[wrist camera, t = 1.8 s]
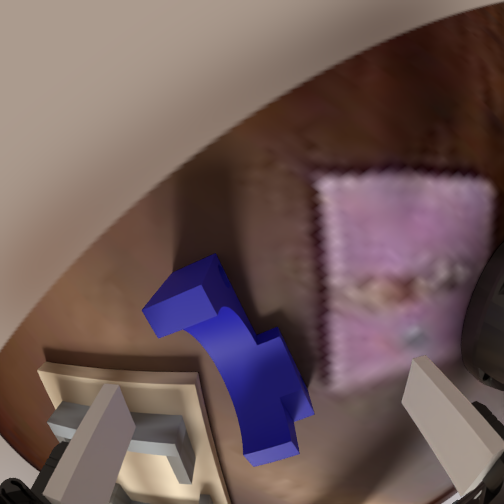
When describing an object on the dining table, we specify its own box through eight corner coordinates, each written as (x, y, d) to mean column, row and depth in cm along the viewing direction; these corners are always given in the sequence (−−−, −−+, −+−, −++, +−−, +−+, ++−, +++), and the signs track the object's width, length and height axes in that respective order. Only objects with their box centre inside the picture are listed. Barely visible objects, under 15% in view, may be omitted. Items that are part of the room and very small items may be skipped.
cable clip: (307, 388, 20) (323, 445, 14) (251, 407, 20) (253, 466, 14) (238, 242, 18) (234, 270, 12) (173, 272, 18) (141, 310, 12)
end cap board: (197, 372, 19) (187, 414, 15) (234, 514, 24) (234, 542, 20) (45, 361, 19) (19, 389, 15) (128, 503, 24) (121, 527, 20)
